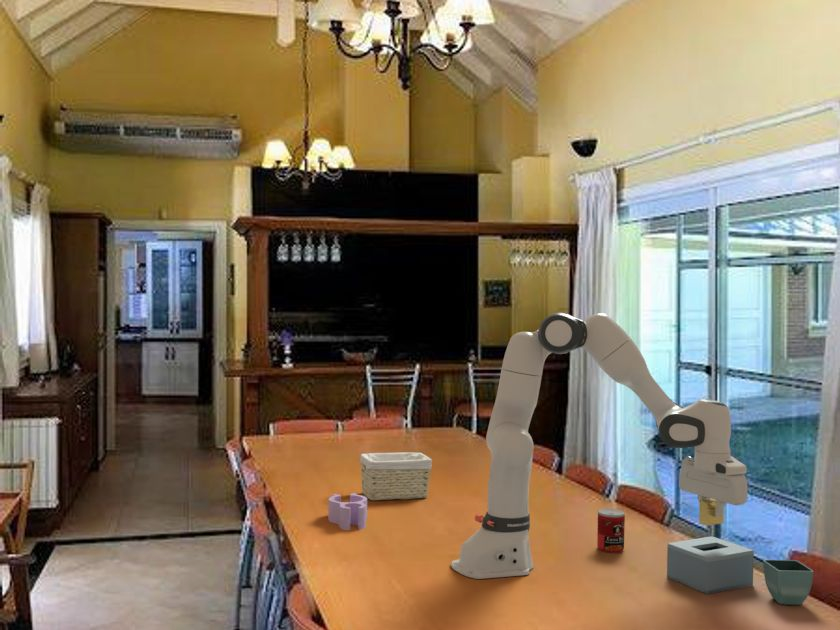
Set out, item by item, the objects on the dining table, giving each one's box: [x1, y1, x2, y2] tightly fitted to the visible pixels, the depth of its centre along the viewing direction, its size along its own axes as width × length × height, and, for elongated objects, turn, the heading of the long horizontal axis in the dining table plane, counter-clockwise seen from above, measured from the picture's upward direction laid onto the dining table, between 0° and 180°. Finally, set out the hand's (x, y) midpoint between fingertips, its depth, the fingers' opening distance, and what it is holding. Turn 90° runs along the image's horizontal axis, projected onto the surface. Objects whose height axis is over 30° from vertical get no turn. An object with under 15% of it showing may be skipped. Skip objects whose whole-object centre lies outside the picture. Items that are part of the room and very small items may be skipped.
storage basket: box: [359, 451, 433, 501], centre depth 309 cm, size 24×16×15 cm
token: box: [698, 498, 725, 527], centre depth 220 cm, size 6×2×6 cm, turn 118°
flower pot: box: [762, 559, 815, 606], centre depth 206 cm, size 9×9×9 cm
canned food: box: [596, 508, 626, 554], centre depth 247 cm, size 8×8×11 cm
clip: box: [328, 492, 368, 531], centre depth 273 cm, size 20×12×7 cm, turn 15°
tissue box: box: [666, 535, 755, 595], centre depth 220 cm, size 16×14×9 cm
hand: (711, 515), depth 220 cm, fingers closed on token, 2 cm apart
